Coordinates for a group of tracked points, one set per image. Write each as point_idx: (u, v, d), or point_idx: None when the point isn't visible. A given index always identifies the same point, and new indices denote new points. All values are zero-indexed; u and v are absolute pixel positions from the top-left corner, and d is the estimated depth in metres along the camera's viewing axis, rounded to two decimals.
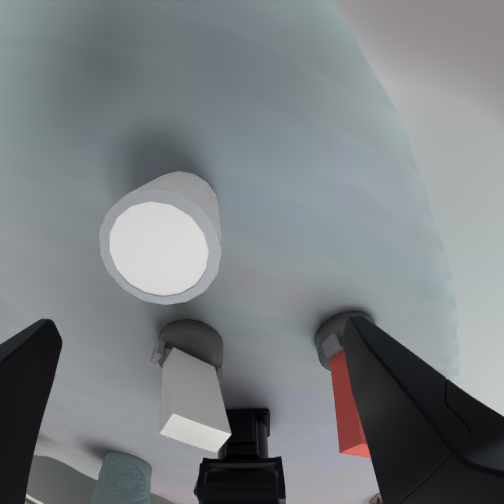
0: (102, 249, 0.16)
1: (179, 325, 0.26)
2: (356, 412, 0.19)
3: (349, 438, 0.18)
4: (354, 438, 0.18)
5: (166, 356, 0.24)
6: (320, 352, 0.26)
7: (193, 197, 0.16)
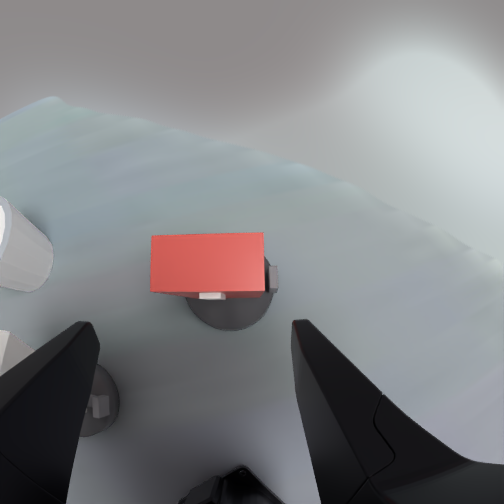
0: None
1: None
2: None
3: None
4: None
5: None
6: (192, 307, 0.20)
7: None
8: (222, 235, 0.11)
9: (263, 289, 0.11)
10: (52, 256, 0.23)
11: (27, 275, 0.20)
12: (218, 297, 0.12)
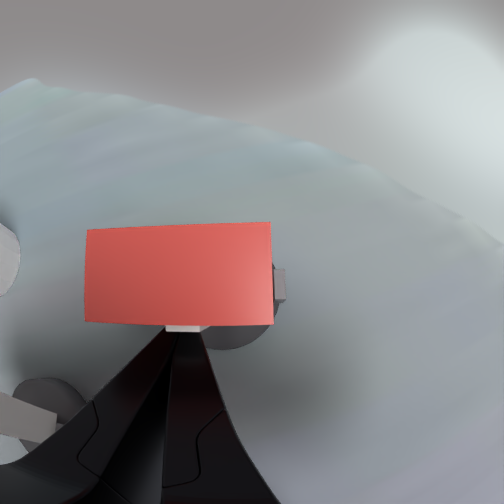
0: None
1: None
2: None
3: None
4: None
5: None
6: None
7: None
8: (199, 227, 0.06)
9: (271, 322, 0.06)
10: (18, 256, 0.18)
11: None
12: (196, 330, 0.07)
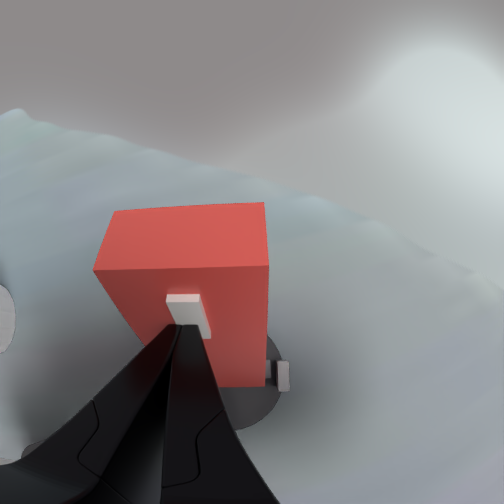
0: None
1: None
2: None
3: None
4: None
5: None
6: None
7: None
8: (207, 206, 0.08)
9: (266, 265, 0.07)
10: (13, 316, 0.17)
11: None
12: (195, 300, 0.07)
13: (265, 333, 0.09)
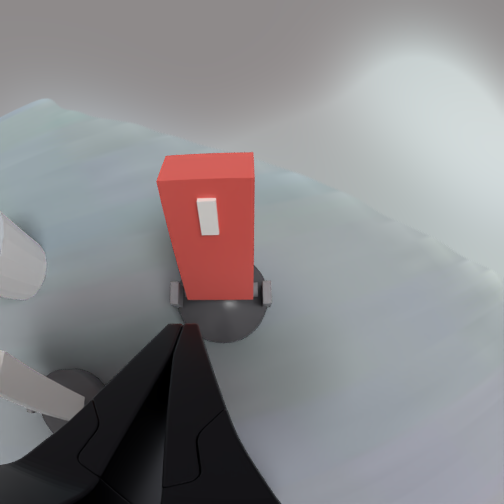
0: None
1: None
2: None
3: None
4: None
5: None
6: (185, 320, 0.20)
7: None
8: (221, 154, 0.14)
9: (253, 178, 0.12)
10: (45, 265, 0.23)
11: (21, 285, 0.20)
12: (213, 200, 0.13)
13: (253, 234, 0.15)
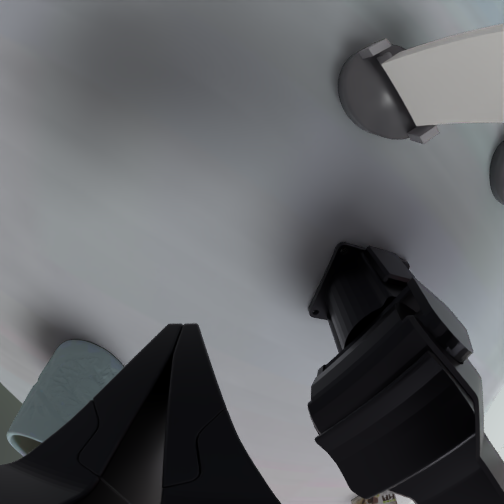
0: None
1: None
2: None
3: None
4: None
5: (389, 56, 0.13)
6: None
7: None
8: None
9: None
10: None
11: None
12: None
13: None
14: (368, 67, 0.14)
